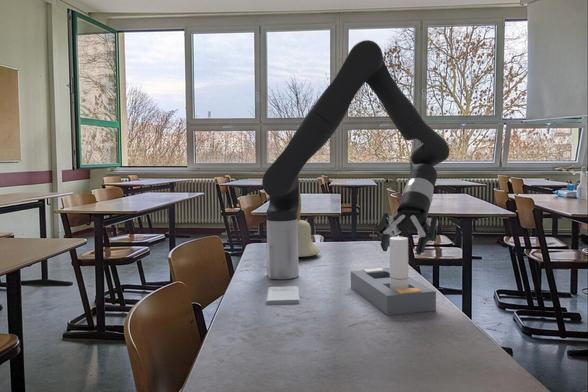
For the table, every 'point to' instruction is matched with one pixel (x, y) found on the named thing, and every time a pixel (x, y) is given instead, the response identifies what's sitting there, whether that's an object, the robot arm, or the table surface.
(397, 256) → the tube
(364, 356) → the table surface
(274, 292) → the external hard drive
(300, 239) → the handbell
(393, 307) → the socket block
